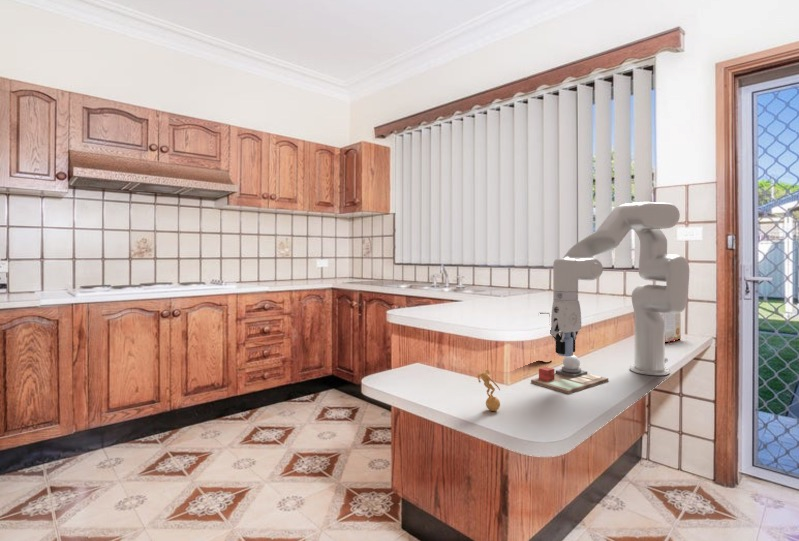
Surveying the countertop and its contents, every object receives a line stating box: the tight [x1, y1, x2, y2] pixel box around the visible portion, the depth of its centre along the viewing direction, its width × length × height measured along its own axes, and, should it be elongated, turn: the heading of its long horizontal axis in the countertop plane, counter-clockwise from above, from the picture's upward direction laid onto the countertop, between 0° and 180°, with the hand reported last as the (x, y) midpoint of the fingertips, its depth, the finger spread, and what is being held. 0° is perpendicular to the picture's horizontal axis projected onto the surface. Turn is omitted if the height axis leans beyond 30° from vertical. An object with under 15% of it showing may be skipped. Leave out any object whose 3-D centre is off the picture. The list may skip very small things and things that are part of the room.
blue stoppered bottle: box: [557, 331, 574, 357], centre depth 140 cm, size 5×5×8 cm
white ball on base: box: [561, 354, 582, 373], centre depth 152 cm, size 6×6×6 cm
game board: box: [530, 366, 609, 395], centre depth 146 cm, size 22×14×5 cm, turn 124°
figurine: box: [477, 369, 501, 412], centre depth 121 cm, size 8×6×12 cm
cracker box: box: [660, 312, 682, 343], centre depth 207 cm, size 14×6×21 cm, turn 119°
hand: (565, 351), depth 140 cm, fingers closed on blue stoppered bottle, 4 cm apart
